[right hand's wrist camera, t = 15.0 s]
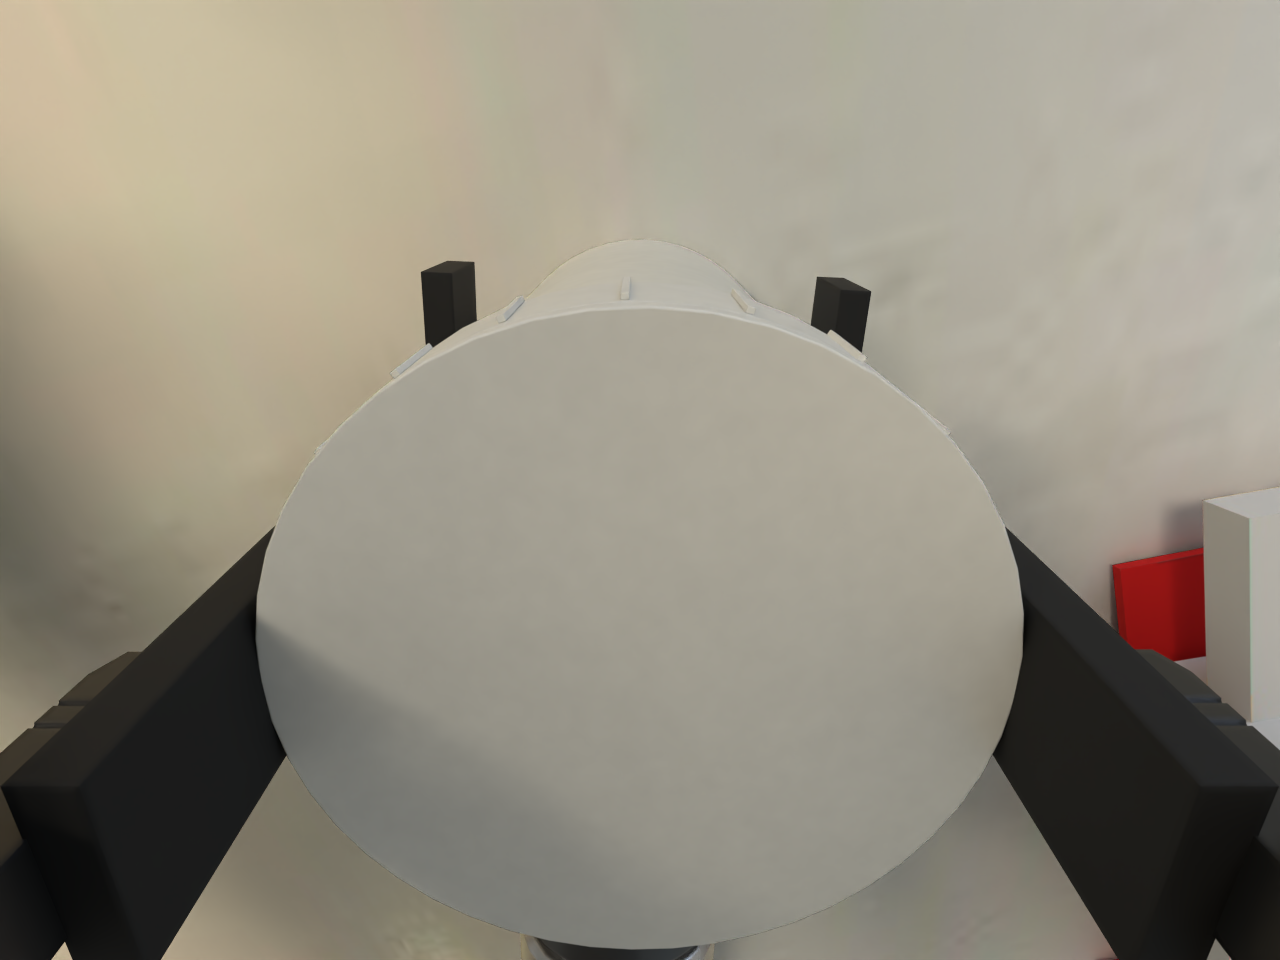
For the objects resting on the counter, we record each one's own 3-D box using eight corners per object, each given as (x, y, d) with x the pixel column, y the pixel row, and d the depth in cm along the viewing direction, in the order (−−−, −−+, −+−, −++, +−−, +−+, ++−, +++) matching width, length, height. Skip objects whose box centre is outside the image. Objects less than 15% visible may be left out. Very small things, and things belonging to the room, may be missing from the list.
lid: (680, 921, 15) (685, 1036, 13) (199, 644, 13) (115, 733, 11) (1099, 566, 12) (1193, 644, 10) (575, 104, 10) (558, 83, 8)
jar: (657, 541, 30) (679, 980, 13) (457, 395, 28) (190, 709, 11) (825, 356, 27) (1111, 629, 11) (618, 177, 25) (577, 173, 8)
